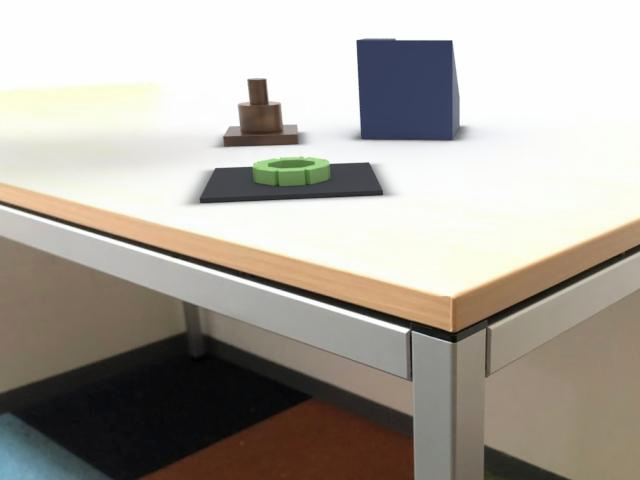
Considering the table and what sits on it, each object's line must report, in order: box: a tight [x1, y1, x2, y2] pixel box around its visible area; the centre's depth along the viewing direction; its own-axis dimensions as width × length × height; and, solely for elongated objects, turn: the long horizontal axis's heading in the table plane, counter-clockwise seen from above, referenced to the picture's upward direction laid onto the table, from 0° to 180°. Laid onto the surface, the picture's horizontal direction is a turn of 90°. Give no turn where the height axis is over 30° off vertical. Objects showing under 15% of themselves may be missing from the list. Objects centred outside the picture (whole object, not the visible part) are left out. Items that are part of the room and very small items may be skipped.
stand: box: [222, 77, 299, 147], centre depth 96 cm, size 9×9×8 cm
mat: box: [199, 161, 384, 203], centre depth 72 cm, size 16×14×1 cm
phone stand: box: [355, 37, 461, 141], centre depth 100 cm, size 12×12×12 cm
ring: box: [252, 156, 330, 186], centre depth 72 cm, size 7×7×1 cm
